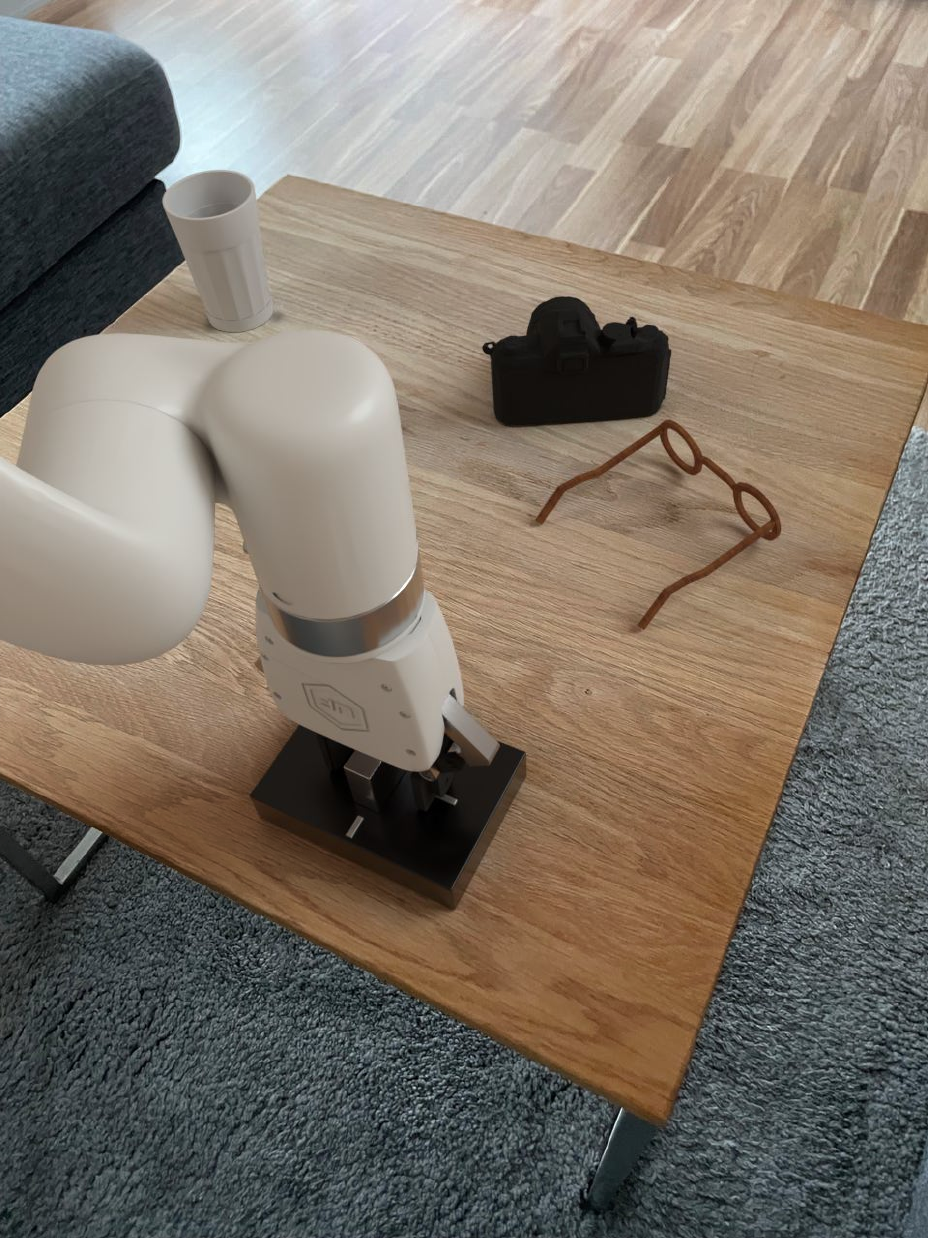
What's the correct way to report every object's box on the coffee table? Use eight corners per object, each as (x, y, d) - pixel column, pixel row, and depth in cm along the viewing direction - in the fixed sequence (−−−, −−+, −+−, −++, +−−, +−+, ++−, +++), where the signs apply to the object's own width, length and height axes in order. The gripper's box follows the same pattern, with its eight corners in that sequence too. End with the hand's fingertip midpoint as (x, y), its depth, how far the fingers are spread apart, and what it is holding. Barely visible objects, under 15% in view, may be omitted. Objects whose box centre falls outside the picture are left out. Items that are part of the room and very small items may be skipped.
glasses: (779, 551, 75) (792, 504, 71) (640, 633, 71) (645, 588, 68) (664, 452, 82) (670, 404, 78) (531, 522, 79) (531, 475, 75)
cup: (248, 276, 101) (218, 159, 91) (299, 308, 97) (273, 190, 88) (182, 314, 98) (144, 197, 88) (232, 348, 94) (197, 230, 84)
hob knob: (379, 813, 61) (369, 777, 57) (353, 801, 61) (342, 765, 58) (421, 745, 63) (415, 707, 60) (397, 734, 64) (388, 696, 61)
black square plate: (259, 818, 64) (248, 794, 62) (341, 697, 70) (334, 671, 67) (455, 911, 60) (451, 890, 57) (527, 775, 65) (526, 750, 63)
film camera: (652, 348, 90) (662, 258, 83) (669, 421, 85) (681, 331, 77) (482, 359, 91) (477, 270, 84) (486, 433, 85) (482, 344, 78)
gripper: (150, 579, 49) (239, 766, 63) (469, 707, 43) (486, 880, 58) (239, 477, 53) (304, 675, 67) (542, 583, 47) (542, 774, 62)
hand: (388, 768), depth 62 cm, fingers open, 5 cm apart
